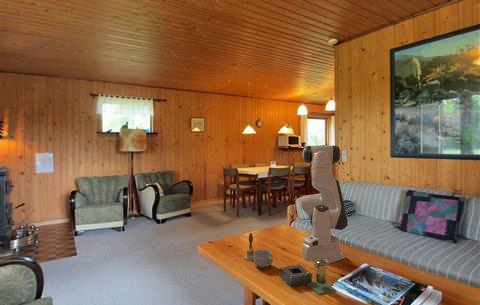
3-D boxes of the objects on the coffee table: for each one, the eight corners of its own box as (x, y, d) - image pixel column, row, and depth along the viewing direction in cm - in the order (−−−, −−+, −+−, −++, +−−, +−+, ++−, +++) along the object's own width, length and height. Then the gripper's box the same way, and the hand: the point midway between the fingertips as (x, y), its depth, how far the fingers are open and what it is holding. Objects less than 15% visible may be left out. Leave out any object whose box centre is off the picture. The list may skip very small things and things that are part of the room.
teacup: (250, 263, 163) (250, 250, 163) (267, 260, 167) (267, 247, 167) (260, 273, 150) (260, 259, 150) (278, 270, 154) (278, 256, 154)
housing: (299, 273, 150) (299, 263, 150) (311, 283, 139) (311, 273, 139) (279, 276, 146) (279, 266, 146) (291, 287, 135) (291, 276, 135)
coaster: (323, 281, 141) (323, 280, 141) (336, 291, 132) (336, 289, 132) (306, 284, 138) (306, 283, 138) (318, 294, 129) (318, 293, 129)
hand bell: (256, 255, 175) (256, 230, 175) (257, 260, 167) (257, 235, 166) (243, 255, 175) (243, 231, 174) (244, 261, 167) (244, 235, 166)
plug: (322, 278, 138) (322, 259, 138) (328, 283, 133) (328, 262, 133) (314, 280, 136) (314, 260, 136) (320, 284, 132) (320, 264, 132)
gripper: (334, 234, 141) (334, 261, 141) (300, 239, 134) (300, 266, 134) (343, 238, 135) (342, 266, 135) (307, 243, 128) (307, 272, 128)
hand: (321, 266), depth 135 cm, fingers closed on plug, 5 cm apart
